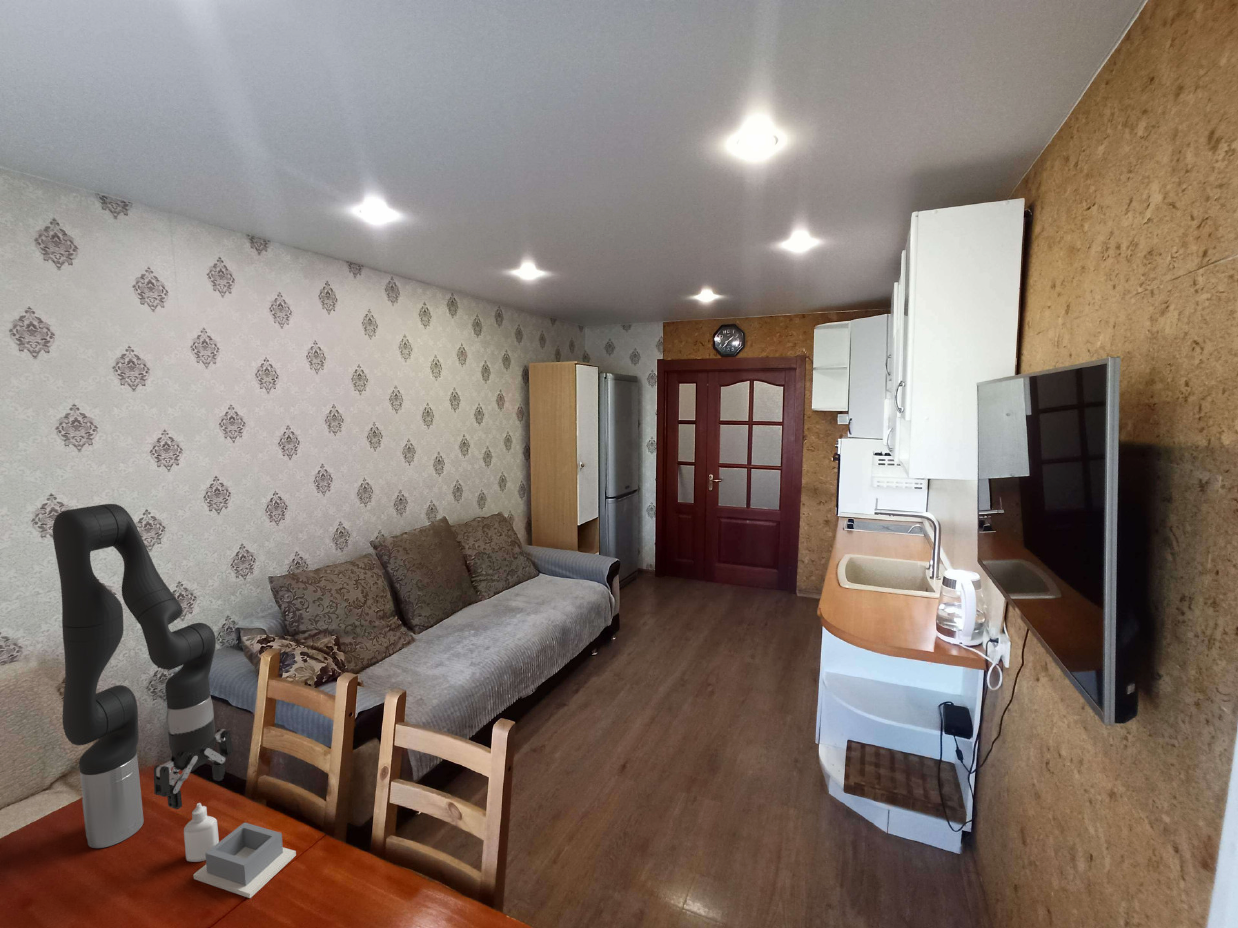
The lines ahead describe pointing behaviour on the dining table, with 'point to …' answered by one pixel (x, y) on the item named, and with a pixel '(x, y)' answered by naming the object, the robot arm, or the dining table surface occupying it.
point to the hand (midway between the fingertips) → (198, 792)
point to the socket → (245, 860)
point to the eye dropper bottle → (200, 834)
